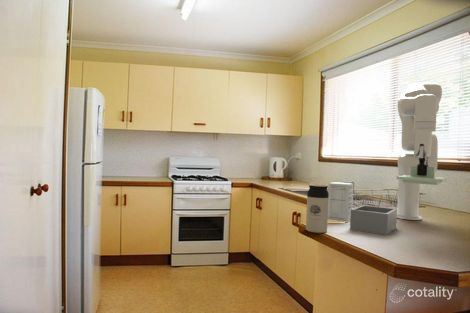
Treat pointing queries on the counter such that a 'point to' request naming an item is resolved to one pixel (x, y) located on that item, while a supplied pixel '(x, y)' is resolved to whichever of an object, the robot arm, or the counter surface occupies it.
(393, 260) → the counter surface
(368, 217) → the tub
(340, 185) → the supplement box
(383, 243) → the counter surface
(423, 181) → the lid
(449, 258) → the counter surface
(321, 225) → the travel mug
